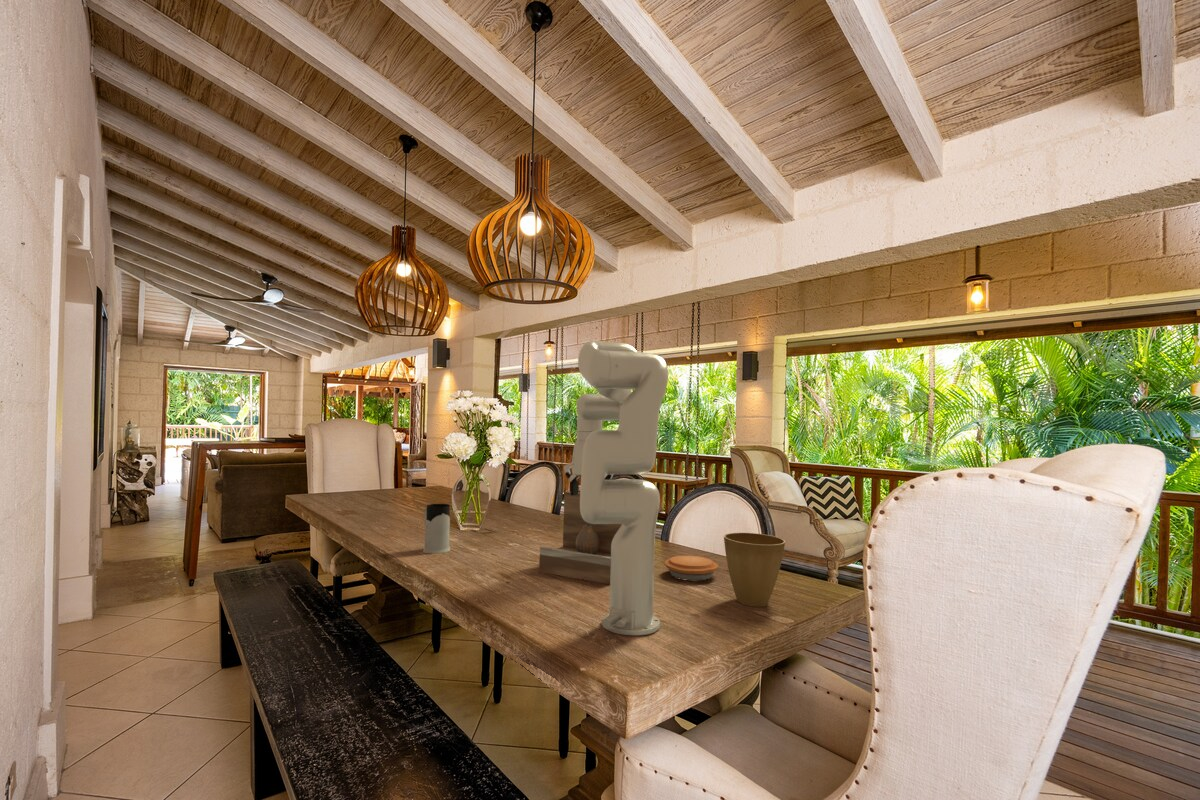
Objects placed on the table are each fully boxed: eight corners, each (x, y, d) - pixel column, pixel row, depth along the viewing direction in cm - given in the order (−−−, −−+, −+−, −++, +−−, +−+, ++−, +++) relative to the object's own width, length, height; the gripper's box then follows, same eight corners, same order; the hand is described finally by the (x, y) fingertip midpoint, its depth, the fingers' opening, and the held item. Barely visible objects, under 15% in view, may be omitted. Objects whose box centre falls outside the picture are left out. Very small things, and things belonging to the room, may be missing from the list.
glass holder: (429, 554, 181) (431, 508, 182) (412, 546, 192) (413, 502, 192) (454, 551, 187) (456, 506, 188) (436, 543, 198) (437, 500, 198)
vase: (593, 552, 169) (594, 522, 169) (602, 557, 162) (603, 527, 163) (572, 553, 166) (572, 523, 166) (580, 559, 160) (580, 528, 160)
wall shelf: (611, 584, 152) (613, 503, 153) (539, 571, 164) (541, 496, 165) (634, 573, 165) (636, 497, 166) (565, 561, 177) (567, 491, 178)
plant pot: (756, 616, 130) (757, 546, 131) (710, 598, 143) (711, 535, 143) (797, 605, 138) (797, 540, 139) (750, 589, 151) (751, 530, 151)
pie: (673, 566, 174) (674, 550, 174) (723, 573, 167) (723, 556, 167) (656, 578, 160) (657, 561, 160) (710, 586, 153) (710, 568, 153)
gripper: (621, 438, 165) (620, 497, 164) (571, 437, 173) (570, 493, 172) (609, 438, 158) (608, 499, 157) (558, 437, 167) (556, 495, 166)
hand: (588, 496), depth 165 cm, fingers open, 9 cm apart
